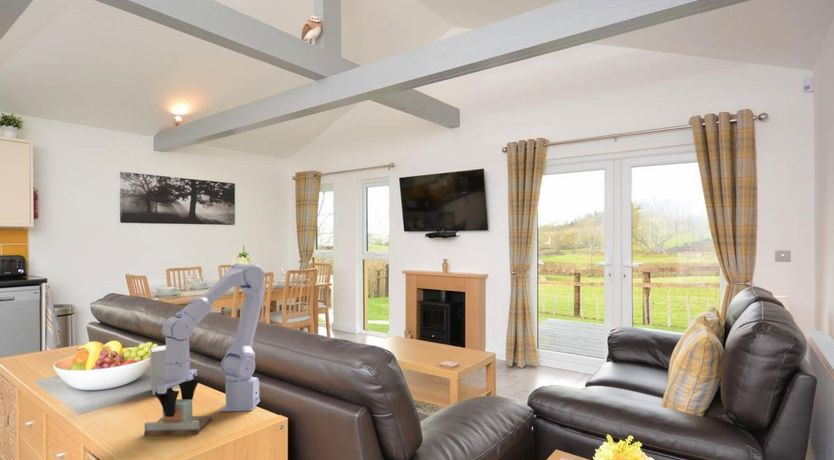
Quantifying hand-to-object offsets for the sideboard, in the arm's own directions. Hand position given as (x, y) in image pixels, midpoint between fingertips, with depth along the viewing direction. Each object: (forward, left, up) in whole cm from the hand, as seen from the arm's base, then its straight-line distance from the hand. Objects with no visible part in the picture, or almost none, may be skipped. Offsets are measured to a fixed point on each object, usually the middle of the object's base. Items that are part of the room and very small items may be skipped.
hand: (178, 410), depth 122 cm
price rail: (0, +4, -4) cm, 5 cm away
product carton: (0, 0, -4) cm, 4 cm away
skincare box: (+21, -30, -5) cm, 37 cm away
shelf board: (0, 0, -5) cm, 5 cm away
